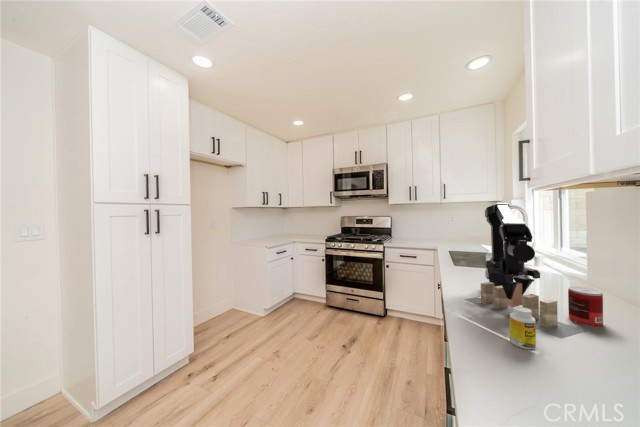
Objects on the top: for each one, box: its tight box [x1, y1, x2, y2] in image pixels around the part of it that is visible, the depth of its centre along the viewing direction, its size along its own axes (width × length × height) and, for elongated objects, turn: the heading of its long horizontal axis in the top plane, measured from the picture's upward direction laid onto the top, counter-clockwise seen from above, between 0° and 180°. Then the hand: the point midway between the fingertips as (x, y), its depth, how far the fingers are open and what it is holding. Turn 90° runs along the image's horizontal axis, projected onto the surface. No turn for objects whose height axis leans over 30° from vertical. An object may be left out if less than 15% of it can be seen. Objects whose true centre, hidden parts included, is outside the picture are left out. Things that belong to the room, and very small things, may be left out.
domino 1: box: [480, 281, 494, 304], centre depth 94 cm, size 2×5×8 cm, turn 107°
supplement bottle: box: [509, 306, 537, 350], centre depth 65 cm, size 6×6×10 cm
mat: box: [463, 296, 586, 339], centre depth 84 cm, size 12×32×1 cm, turn 17°
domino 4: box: [521, 293, 540, 320], centre depth 80 cm, size 2×5×8 cm, turn 107°
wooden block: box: [539, 298, 559, 328], centre depth 75 cm, size 2×5×8 cm, turn 107°
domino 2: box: [493, 286, 508, 309], centre depth 89 cm, size 2×5×8 cm, turn 107°
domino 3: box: [507, 282, 522, 307], centre depth 84 cm, size 2×5×8 cm, turn 108°
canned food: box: [567, 286, 604, 327], centre depth 77 cm, size 8×8×11 cm
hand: (514, 298), depth 84 cm, fingers closed on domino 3, 5 cm apart
